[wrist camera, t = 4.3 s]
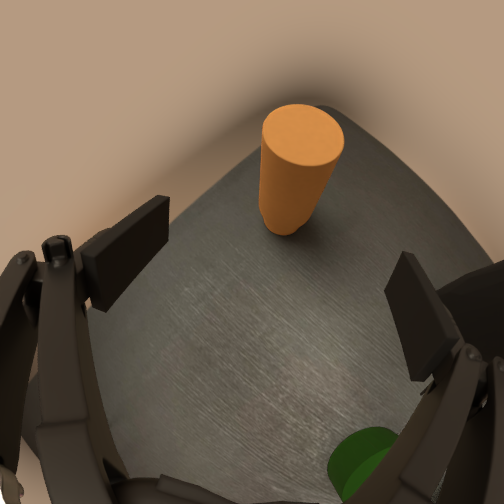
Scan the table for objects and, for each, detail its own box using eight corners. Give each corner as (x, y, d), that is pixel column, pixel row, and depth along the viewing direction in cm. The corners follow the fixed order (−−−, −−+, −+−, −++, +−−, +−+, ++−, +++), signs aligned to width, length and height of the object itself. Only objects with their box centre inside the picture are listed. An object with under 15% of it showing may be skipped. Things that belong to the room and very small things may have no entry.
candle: (318, 448, 21) (349, 500, 11) (392, 413, 21) (448, 442, 12) (336, 499, 19) (364, 550, 9) (402, 466, 19) (449, 502, 10)
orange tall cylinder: (259, 241, 26) (264, 165, 14) (257, 195, 28) (260, 103, 15) (308, 239, 26) (352, 167, 14) (303, 195, 28) (335, 106, 15)
